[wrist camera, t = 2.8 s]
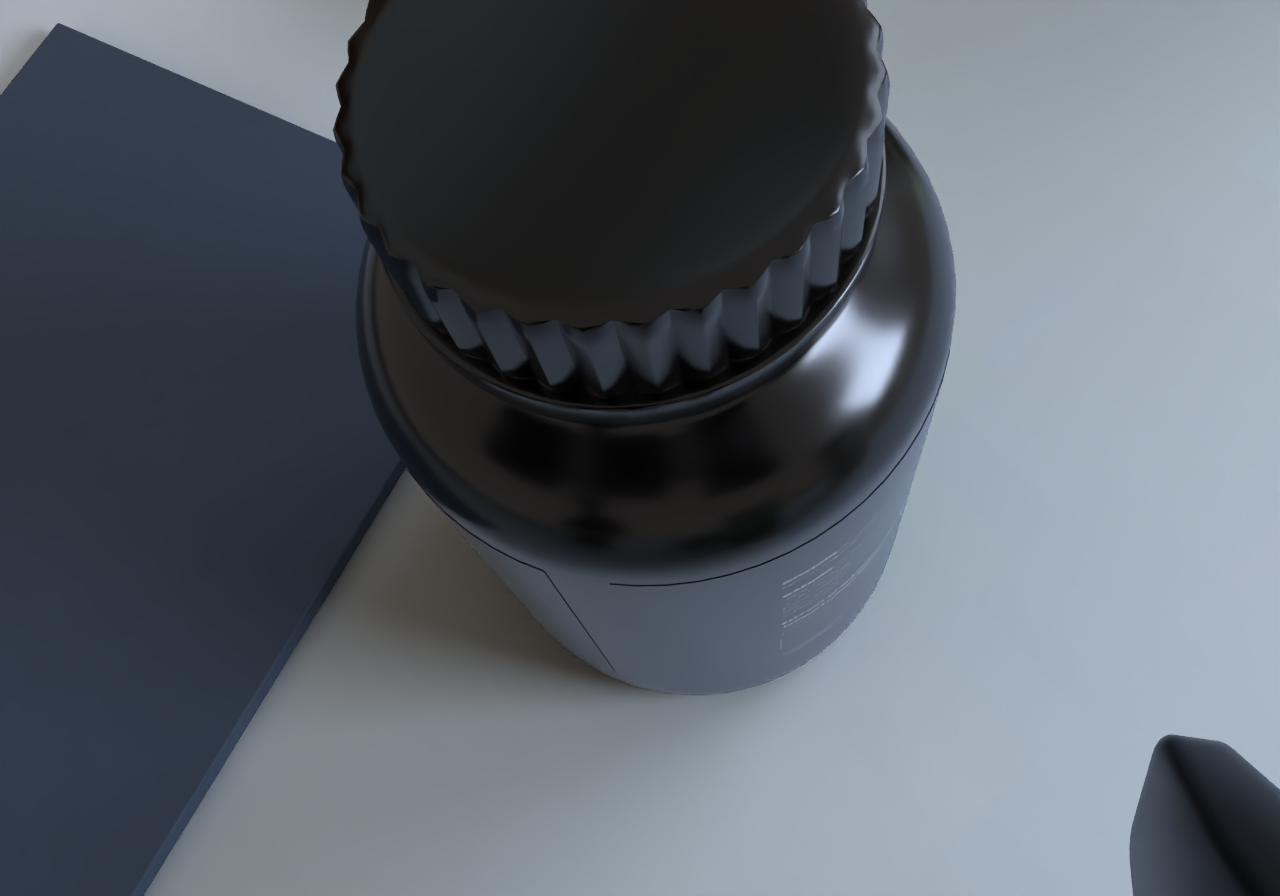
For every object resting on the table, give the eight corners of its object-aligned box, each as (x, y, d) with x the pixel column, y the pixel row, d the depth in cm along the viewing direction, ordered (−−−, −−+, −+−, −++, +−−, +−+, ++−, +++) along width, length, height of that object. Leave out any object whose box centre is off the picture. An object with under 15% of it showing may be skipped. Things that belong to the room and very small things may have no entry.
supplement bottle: (814, 283, 23) (865, -318, 11) (951, 631, 20) (1187, 299, 9) (460, 393, 23) (163, -105, 11) (556, 756, 20) (298, 576, 9)
